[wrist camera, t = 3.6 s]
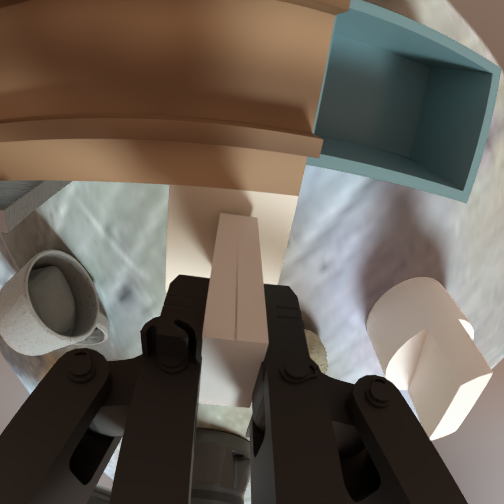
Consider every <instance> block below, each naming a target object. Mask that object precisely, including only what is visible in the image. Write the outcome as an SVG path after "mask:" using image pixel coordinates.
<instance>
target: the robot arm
mask: <svg viewBox="0 0 504 504" xmlns="http://www.w3.org/2000/svg"><path fill="white" fill-rule="evenodd" d="M140 333H141V343H142V352H143V354H142V355H140V356H138V357H135V358H132V359H127V360H118V361H106V359H105V357H104V356H103V355H101V354H100V353H99V352H97V351H95V350H91V349H88V348H80V349H74V350H71V351H69V352H66V353H65V354H64V355H63V356H62V357H60V358H59V359H58V361H57V362H56V363H55V364H54V366H53V367H52V368H51V369H50V370H49V372H48V373H47V374H46V375H45V377H44V378H43V379H42V381H41V382H40V383H39V384H38V386H37V387H36V388H35V389H34V391H33V392H32V393H31V395H30V396H29V397H28V399H27V400H26V401H25V403H24V404H23V405H22V406H21V408H20V409H19V410H18V412H17V413H16V414H15V416H14V417H13V419H12V420H11V421H10V423H9V424H8V425H7V427H6V428H5V430H4V431H3V432H2V434H1V435H0V504H244V494H245V491H246V488H247V485H248V482H249V479H250V477H251V504H468V503H467V501H466V500H465V498H464V496H463V494H462V493H461V491H460V489H459V487H458V486H457V484H456V482H455V480H454V479H453V477H452V475H451V474H450V472H449V470H448V468H447V467H446V465H445V463H444V462H443V460H442V458H441V457H440V456H439V453H438V452H437V450H436V448H435V447H434V445H433V444H432V442H431V440H430V439H429V437H428V435H427V434H426V432H425V431H424V429H423V427H422V426H421V424H420V423H419V421H418V419H417V418H416V416H415V415H414V413H413V411H412V410H411V408H410V407H409V405H408V404H407V402H406V400H405V399H404V397H403V396H402V394H401V393H400V391H399V389H398V388H397V387H396V386H395V385H394V384H393V383H392V382H391V381H389V380H387V379H386V378H384V377H381V376H377V375H366V376H364V377H362V378H360V379H358V381H357V382H356V383H355V384H351V383H347V382H344V381H340V380H337V379H334V378H331V377H329V376H327V375H325V374H324V373H322V372H321V370H320V368H319V365H317V364H316V363H315V362H314V361H313V360H312V359H311V358H310V355H309V350H308V345H307V341H306V336H305V331H304V326H303V321H302V316H301V312H300V307H299V302H298V298H297V296H296V295H295V293H294V292H293V291H292V290H291V288H290V287H289V286H282V285H273V284H264V283H263V272H262V261H261V250H260V239H259V228H258V218H257V217H249V216H242V215H234V214H226V213H220V217H219V223H218V229H217V235H216V242H215V248H214V255H213V262H212V268H211V275H210V278H205V277H197V276H189V275H181V274H179V275H178V276H177V277H176V278H175V279H174V280H173V281H172V282H171V283H170V285H169V288H168V292H167V296H166V298H165V302H164V306H163V308H162V312H161V315H160V316H159V317H155V318H153V319H151V320H150V321H148V322H147V323H145V325H144V326H143V328H142V330H141V331H140ZM251 402H252V409H253V414H252V417H251V420H250V423H249V426H248V429H247V432H246V437H250V443H249V442H248V441H246V440H245V439H243V438H241V437H238V436H236V435H233V434H229V433H225V432H221V431H215V430H207V429H196V424H197V412H198V403H203V404H212V405H222V406H234V407H248V408H250V405H251ZM122 436H123V438H122ZM121 438H122V443H121V447H120V452H119V457H118V461H117V466H116V471H115V476H114V482H113V487H112V490H111V489H108V488H105V487H102V486H99V485H97V483H98V481H99V479H100V477H101V475H102V474H103V472H104V470H105V468H106V466H107V464H108V462H109V460H110V459H111V457H112V455H113V453H114V451H115V449H116V448H117V446H118V444H119V442H120V440H121Z"/></svg>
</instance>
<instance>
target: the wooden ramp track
mask: <svg viewBox="0 0 504 504" xmlns="http://www.w3.org/2000/svg"><path fill="white" fill-rule="evenodd" d="M350 1H351V0H0V181H21V180H61V181H106V182H131V183H151V184H169V185H170V188H169V204H168V223H167V250H166V292H168V288H169V285H170V283H171V282H172V281H173V280H174V279H175V278H176V277H177V276H178V275H179V274H181V275H189V276H197V277H205V278H210V275H211V268H212V262H213V255H214V248H215V242H216V235H217V229H218V223H219V217H220V213H226V214H234V215H242V216H249V217H257V218H258V228H259V239H260V250H261V261H262V272H263V283H264V284H273V285H277V284H278V280H279V276H280V272H281V268H282V264H283V260H284V256H285V252H286V247H287V243H288V239H289V235H290V231H291V226H292V222H293V218H294V213H295V209H296V205H297V200H298V196H299V192H300V187H301V183H302V178H303V174H304V169H305V165H306V160H307V157H313V158H319V157H320V153H321V149H322V144H323V140H324V139H322V138H320V137H318V136H317V135H315V134H313V133H312V132H313V127H314V122H315V118H316V113H317V108H318V103H319V98H320V93H321V88H322V83H323V78H324V73H325V67H326V62H327V57H328V52H329V46H330V41H331V35H332V30H333V24H334V19H335V15H338V14H341V13H344V12H347V11H349V7H350Z"/></svg>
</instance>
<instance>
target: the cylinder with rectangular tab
mask: <svg viewBox="0 0 504 504" xmlns="http://www.w3.org/2000/svg"><path fill="white" fill-rule="evenodd" d="M366 324H367V333H368V335H369V338H370V340H371V342H372V345H373V347H374V350H375V352H376V355H377V357H378V360H379V362H380V365H381V368H382V370H383V373H384V375H385V378H386V379H387V380H389V381H391V382H392V383H393V384H394V385H395V386H396V387H397V388H398V389H400V390H408V392H409V394H410V397H411V399H412V402H413V404H414V407H415V409H416V412H417V414H418V417H419V420H420V422H421V425H422V427H423V429H424V431H425V432H426V434H427V435H428V437H429V439H430V440H435V439H438V438H441V437H443V436H446V435H448V434H450V433H453V432H454V431H456V430H457V429H458V427H459V426H460V425H461V423H462V422H463V420H464V419H465V417H466V416H467V414H468V413H469V411H470V410H471V408H472V407H473V405H474V404H475V402H476V401H477V399H478V397H479V396H480V394H481V392H482V391H483V389H484V388H485V386H486V384H487V383H488V381H489V379H490V377H491V376H492V374H493V373H492V371H491V369H490V367H489V366H488V364H487V362H486V361H485V359H484V358H483V356H482V354H481V353H480V351H479V350H478V348H477V347H476V345H475V343H474V342H473V338H474V330H473V328H472V326H471V324H470V322H469V321H468V320H467V318H466V317H465V315H464V314H463V313H462V311H461V310H460V308H459V307H458V306H457V304H456V303H455V302H454V300H453V299H452V298H451V296H450V295H449V294H448V292H447V291H446V290H445V288H444V287H443V286H442V284H441V283H440V282H438V281H437V280H435V279H433V278H429V277H415V278H411V279H408V280H405V281H402V282H401V283H399V284H397V285H395V286H393V287H392V288H390V289H389V290H388V291H387V292H385V293H384V294H383V295H382V296H381V297H380V298H379V299H378V301H377V302H376V303H375V304H374V306H373V308H372V309H371V311H370V313H369V316H368V319H367V323H366Z"/></svg>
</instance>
